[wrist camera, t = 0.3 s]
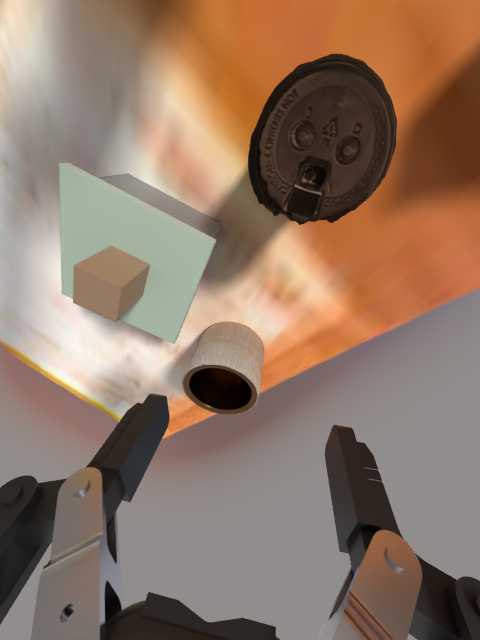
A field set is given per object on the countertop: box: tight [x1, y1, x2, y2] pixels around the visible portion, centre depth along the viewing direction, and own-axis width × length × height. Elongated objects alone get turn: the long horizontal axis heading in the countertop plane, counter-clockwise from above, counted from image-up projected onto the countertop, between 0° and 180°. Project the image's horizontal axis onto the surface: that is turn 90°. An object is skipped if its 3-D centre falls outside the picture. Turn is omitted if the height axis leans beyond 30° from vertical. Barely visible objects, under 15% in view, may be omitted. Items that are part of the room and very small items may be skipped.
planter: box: [182, 322, 264, 415], centre depth 36 cm, size 11×11×10 cm
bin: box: [99, 174, 222, 239], centre depth 28 cm, size 12×12×8 cm
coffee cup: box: [248, 54, 397, 225], centre depth 18 cm, size 9×8×13 cm
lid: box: [59, 162, 217, 344], centre depth 23 cm, size 14×14×7 cm
